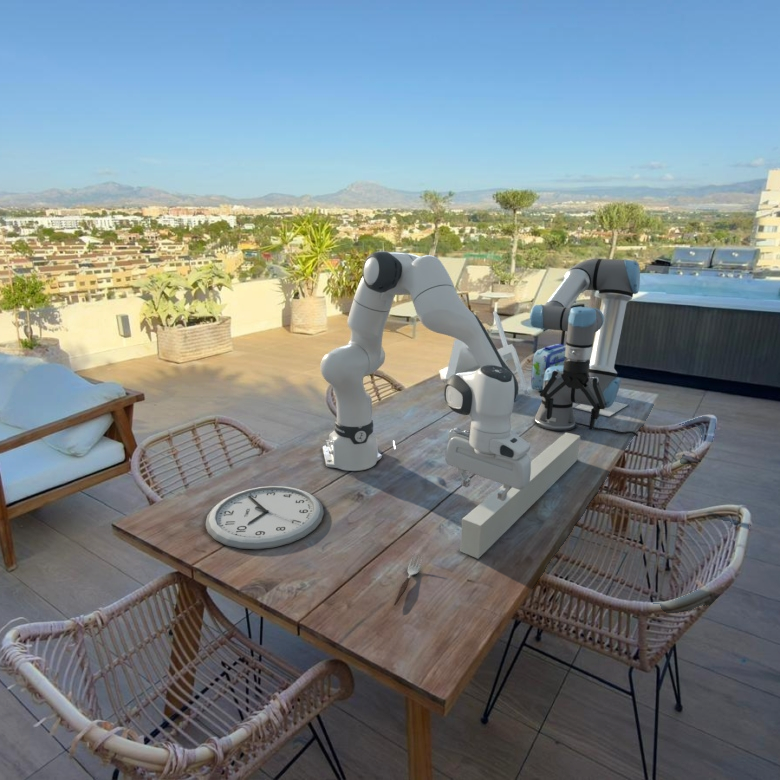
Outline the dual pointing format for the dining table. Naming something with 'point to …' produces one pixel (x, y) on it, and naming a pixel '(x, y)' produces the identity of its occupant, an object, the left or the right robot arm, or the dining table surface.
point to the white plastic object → (466, 362)
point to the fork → (412, 571)
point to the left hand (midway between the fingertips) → (483, 492)
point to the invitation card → (607, 411)
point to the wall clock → (264, 517)
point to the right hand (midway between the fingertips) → (569, 423)
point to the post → (516, 497)
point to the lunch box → (546, 363)
